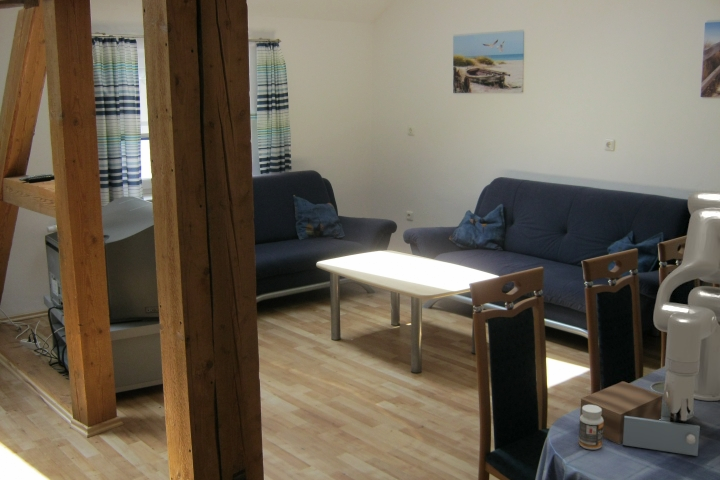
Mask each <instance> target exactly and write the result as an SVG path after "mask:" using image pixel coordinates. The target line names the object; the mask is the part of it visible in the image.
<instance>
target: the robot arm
mask: <svg viewBox="0 0 720 480" xmlns="http://www.w3.org/2000/svg"><path fill="white" fill-rule="evenodd" d="M687 208H688V209H687V210H688V212H689V214H690V218H689V221H688V222H689V223H688V228H687V232H686V239H685V245H684V250H683V255H682V262H681V264H680V265H679V266H678V267H676V268H675V269H673V271H670V273H669V274H667V276H666V277H665V278H664V279H663V280H662V282H661V284H660V285H659V287H658V291H657V294H656V299H655V304H654V309H653V319H652V320H653V325H654V328H656V329H657V330H659V331H660V332H664V333H666V334H667V335H666V344H665V345H666V346H665V348H666V349H665V359H664V369H665V371H666V372H665V379H664V380H665V381H664V387H663V388H664V389H663V395H662V396H663V397H662V398H663V400H664V403H665V404H666V407H667V408H668V410H669V412H670V417H669V418H670V419H669V422H675V423H682V424H686V421H687V416H688V415H691V414H692V413H693V410H694V400H699V401H705V402H706V401H708V402H716V401H720V287H719V286H710V285H700V286H696V287H693V289H691V290H690V292H689V294H688V297H687V304H683V303H677V302H670V298H671V295H672V293H673V291H674V290H675V289H677V288H678V287H680V285H682V284H685V283H687V282H690V281H693V280H696V279H698V280H700V281H703V282H705V283H709V284H710V283H711V284H716V285H720V191H719V190H716V191H715V190H698V191H694V192H692V193H690V194H689V196H688V198H687ZM687 413H688V415H687Z"/></svg>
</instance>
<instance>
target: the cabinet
mask: <svg viewBox="0 0 720 480" xmlns="http://www.w3.org/2000/svg"><path fill="white" fill-rule="evenodd" d="M663 396H664V395H662V394H659V393H656V392H654V391H651V390H649V389H646V388H644V387H643V388H642V387H640V386H637V385H635V384H632V383H628V382H626V381H623V380H622V381H620V382H618V383H616V384H612V385H611V386H608V387H606V388H603V389H601V390H598V391H596V392H594V393H591V394H589V395H588V394H587V396H584V397H581V398H580V410H579V411H580V412H579V413H580V414H579V416H581V415H582V414H583V413H582V407H583V406H585V405H596V406H599V407H600V408H601V409H602V414H601V416H602V418H603V420H604V424H603V438H604V439H607V440H609V441H611V442H614V443H615V444H618V445H620V444H623V433H624V417H625V416H630V417H638V418H645V419H653V420H659V419H661V420H662V410H663V408H662V407H663V398H664V397H663Z"/></svg>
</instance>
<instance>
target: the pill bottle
mask: <svg viewBox="0 0 720 480" xmlns="http://www.w3.org/2000/svg"><path fill="white" fill-rule="evenodd" d="M582 413H583V414H582V415H581V416H580V415H579V416H580V417H579V425H578V426H579V429H578V444H579V446H581V448H583V449H586V450H590V451H591V450H592V451H594V450H595V451H596V450H599V449H601V448H602V447H603V442H604V441H603V440H604V439H603V438H604V437H603V424H604V420H603V418H602V416H601V414H602V409H601V408H600V407H599V406H596V405H585V406H583V407H582Z"/></svg>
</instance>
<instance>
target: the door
mask: <svg viewBox="0 0 720 480" xmlns="http://www.w3.org/2000/svg"><path fill="white" fill-rule="evenodd" d="M700 431H701V430H700V425H698V424H696V425H694V424H688V423H685V424H682V423H675V422H670V421H668V420H667V421H666V420H665V421H664V420H661V421H660V420H653V419H645V418H638V417H630V416H625V417H624V433H623V442H622V445H623V446H627V447H628V446H629V447H634V448H635V447H636V448H642V449H649V450H655V451H656V450H657V451H661V452H669V453H674V454H675V453H676V454H680V455H681V454H683V455H688V456H694V457H698V454H699V443H700V442H699V441H700Z"/></svg>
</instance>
